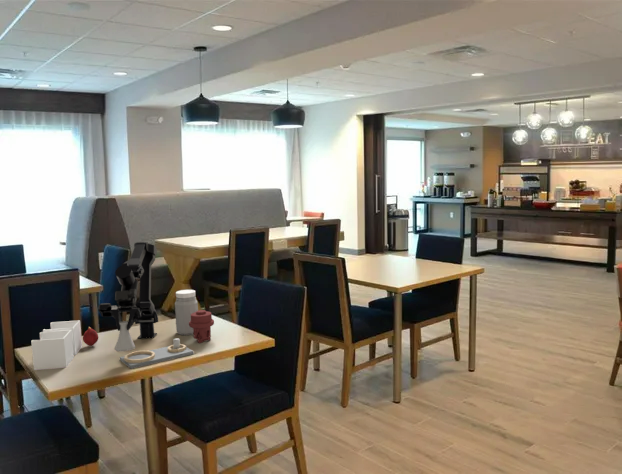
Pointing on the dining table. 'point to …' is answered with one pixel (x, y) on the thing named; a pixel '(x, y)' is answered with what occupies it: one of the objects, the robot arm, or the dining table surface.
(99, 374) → the dining table surface
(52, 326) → the storage container
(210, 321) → the mechanical component
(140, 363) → the board
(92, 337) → the onion
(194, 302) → the jar
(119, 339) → the flask
